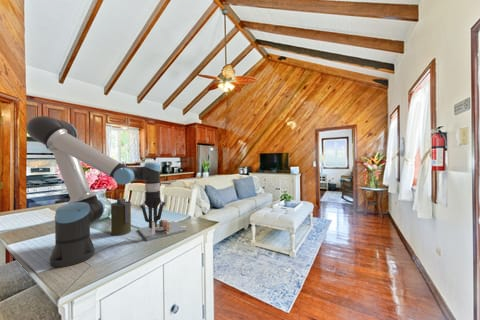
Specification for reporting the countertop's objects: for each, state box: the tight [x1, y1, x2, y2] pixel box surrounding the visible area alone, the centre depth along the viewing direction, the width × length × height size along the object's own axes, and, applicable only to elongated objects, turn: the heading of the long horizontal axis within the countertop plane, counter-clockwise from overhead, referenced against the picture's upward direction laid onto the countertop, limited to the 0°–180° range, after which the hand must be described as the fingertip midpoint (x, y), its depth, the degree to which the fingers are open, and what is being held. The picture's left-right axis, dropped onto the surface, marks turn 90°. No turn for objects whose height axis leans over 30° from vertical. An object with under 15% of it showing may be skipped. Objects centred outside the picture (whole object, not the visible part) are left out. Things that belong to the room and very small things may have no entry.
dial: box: [155, 219, 171, 232], centre depth 118 cm, size 15×10×6 cm, turn 40°
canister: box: [110, 197, 132, 237], centre depth 117 cm, size 11×10×20 cm
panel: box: [137, 221, 187, 242], centre depth 120 cm, size 24×20×2 cm
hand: (152, 233), depth 108 cm, fingers closed
